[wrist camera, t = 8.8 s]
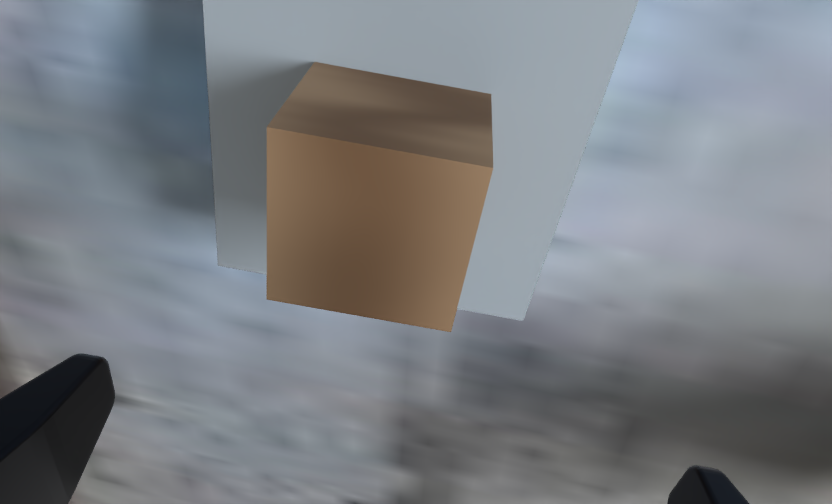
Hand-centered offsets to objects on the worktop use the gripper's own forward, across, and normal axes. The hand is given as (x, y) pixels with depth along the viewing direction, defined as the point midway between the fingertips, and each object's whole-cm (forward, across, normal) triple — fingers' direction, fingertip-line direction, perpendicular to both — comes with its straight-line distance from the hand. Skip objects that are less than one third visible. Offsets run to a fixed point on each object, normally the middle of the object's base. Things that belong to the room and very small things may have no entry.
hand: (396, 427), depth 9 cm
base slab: (+12, +1, 0) cm, 12 cm away
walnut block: (+9, +1, 0) cm, 9 cm away
